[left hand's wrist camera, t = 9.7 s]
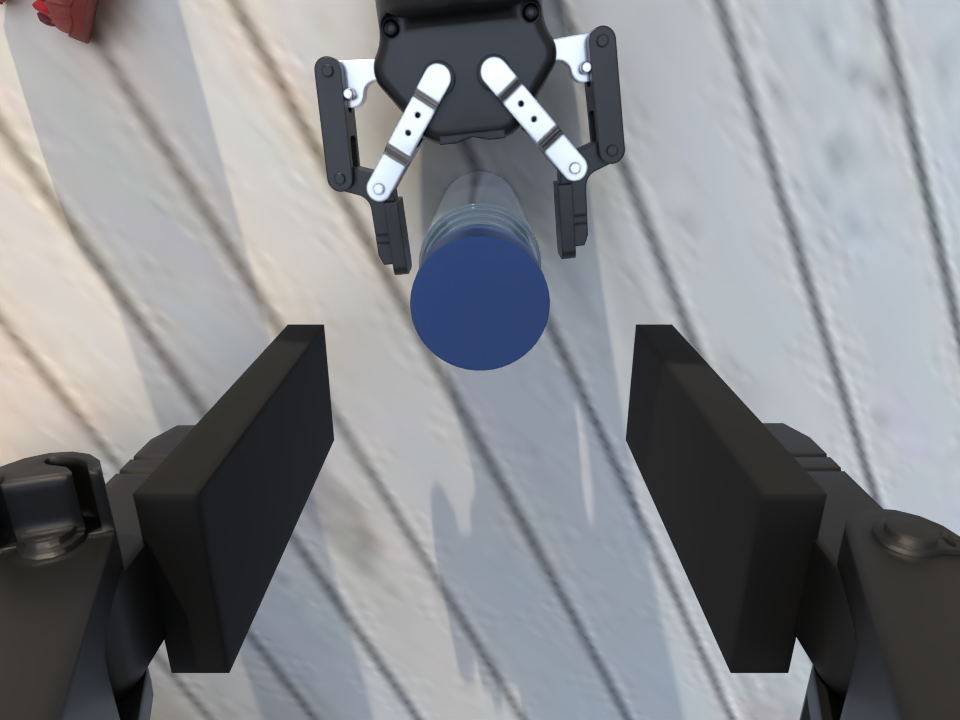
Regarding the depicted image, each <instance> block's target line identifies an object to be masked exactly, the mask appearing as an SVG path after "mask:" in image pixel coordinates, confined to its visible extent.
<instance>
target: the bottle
mask: <svg viewBox="0 0 960 720" xmlns="http://www.w3.org/2000/svg"><path fill="white" fill-rule="evenodd" d="M474 225H486V226H493V227H497V228H501V229H503V230H506V231H508V232H510V233H512V234H513V235H515V236H517V237H518V238H519V239H521V240H522V241H523V242H524V243H525V244H526V245H527V246H528V247H529V248H530V250H531V251H532V252H533V254H534V255H535V257H536V259H537V261H538V263H539V265H540V268H541V256H540V250H539V246H538V243H537V241H536V238H535V236H534V234H533V232H532V229H531V227H530V225H529V223H528V221H527V218H526V216H525V214H524V212H523V209H522V207H521V205H520V203H519V201H518V198H517V196H516V194H515V192H514V190H513V189H512V187H511V186H510V185H509V184H508V183H507V182H506V181H505V180H504V179H503V178H501V177H500V176H498V175H496V174H494V173H491V172H486V171H474V172H469V173H466V174H464V175H462V176H460V177H459V178H457V179H456V180H455V181H453V183H452V184H451V185H450V186H449V187H448V189H447V190H446V192H445V194H444V196H443V198H442V201H441V203H440V205H439V207H438V209H437V212H436V214H435V216H434V218H433V220H432V223H431V225H430V227H429V229H428V232H427V234H426V236H425V238H424V241H423V243H422V246H421V250H420V256H419V268H420V265H421V263H422V261H423V259H424V257H425V255H426V254H427V252H428V251H429V249H430V248H431V247H432V246H433V245H434V244H435V243H436V242H437V241H438V240H439V239H441V238H442V237H443V236H445V235H447V234H448V233H450V232H452V231H454V230H457V229H460V228H463V227H467V226H474Z"/></svg>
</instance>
